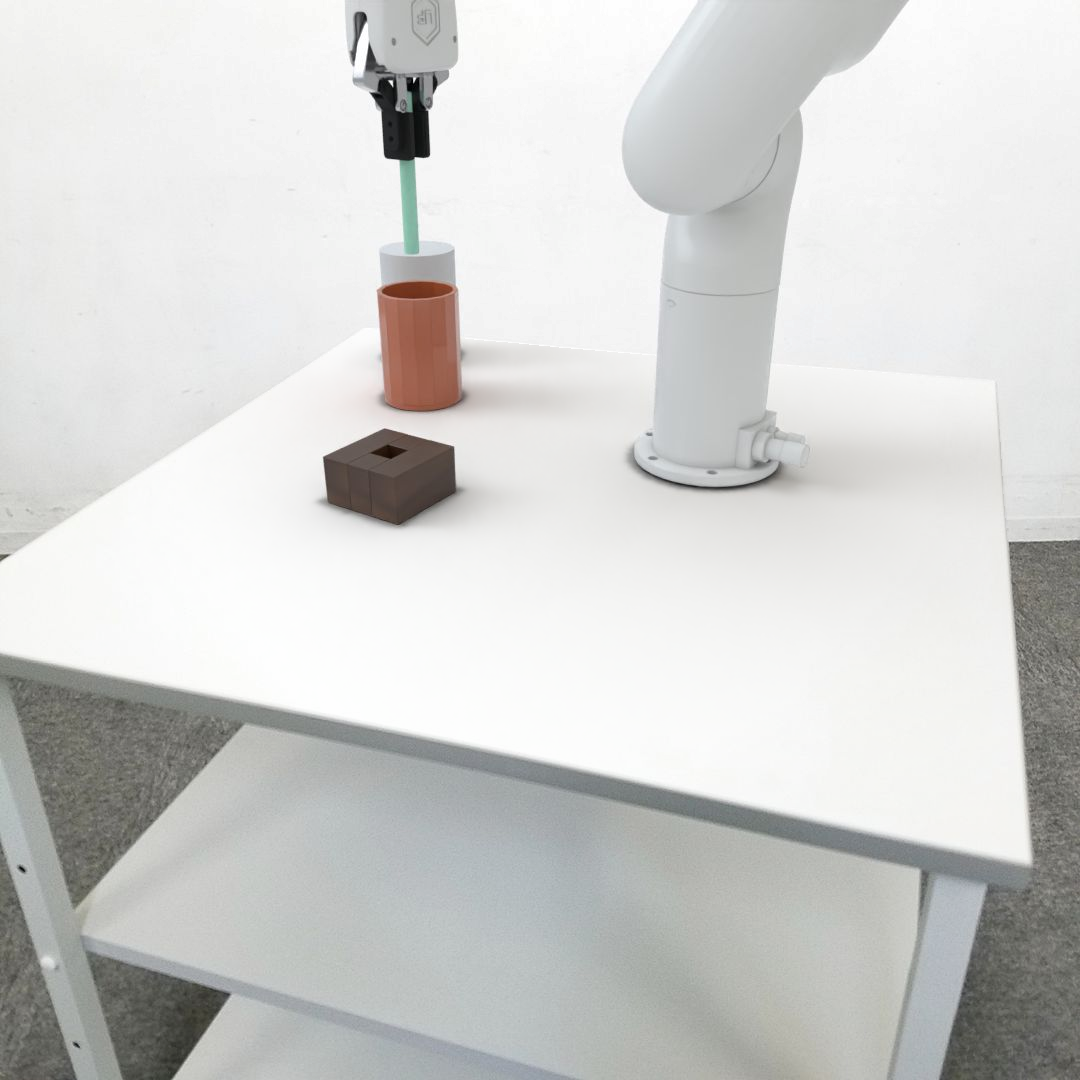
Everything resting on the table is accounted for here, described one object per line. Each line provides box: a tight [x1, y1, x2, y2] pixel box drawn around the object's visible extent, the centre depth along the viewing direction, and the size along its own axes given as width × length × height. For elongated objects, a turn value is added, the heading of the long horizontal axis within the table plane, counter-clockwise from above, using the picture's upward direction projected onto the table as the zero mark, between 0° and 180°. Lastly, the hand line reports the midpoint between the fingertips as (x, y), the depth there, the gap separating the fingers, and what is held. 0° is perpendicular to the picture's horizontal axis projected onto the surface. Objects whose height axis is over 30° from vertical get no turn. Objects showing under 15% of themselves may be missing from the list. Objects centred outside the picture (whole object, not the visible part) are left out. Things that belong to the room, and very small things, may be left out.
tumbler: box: [376, 280, 463, 412], centre depth 103 cm, size 8×8×11 cm
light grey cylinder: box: [378, 240, 457, 287], centre depth 115 cm, size 8×8×12 cm
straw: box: [398, 91, 420, 255], centre depth 94 cm, size 1×1×14 cm
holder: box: [322, 427, 457, 525], centre depth 83 cm, size 7×7×4 cm
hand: (407, 156), depth 94 cm, fingers closed on straw, 1 cm apart
